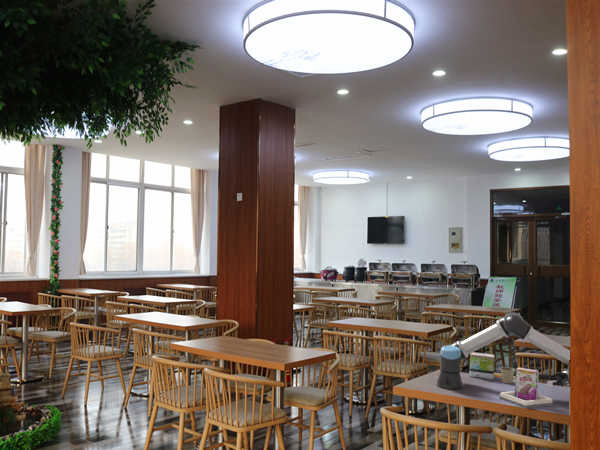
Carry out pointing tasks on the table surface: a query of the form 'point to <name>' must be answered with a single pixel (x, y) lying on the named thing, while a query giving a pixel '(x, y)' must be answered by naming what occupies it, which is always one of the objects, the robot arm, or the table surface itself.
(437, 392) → the table surface
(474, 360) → the tea box
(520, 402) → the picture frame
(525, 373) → the candy bar box
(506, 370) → the flower pot
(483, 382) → the table surface
